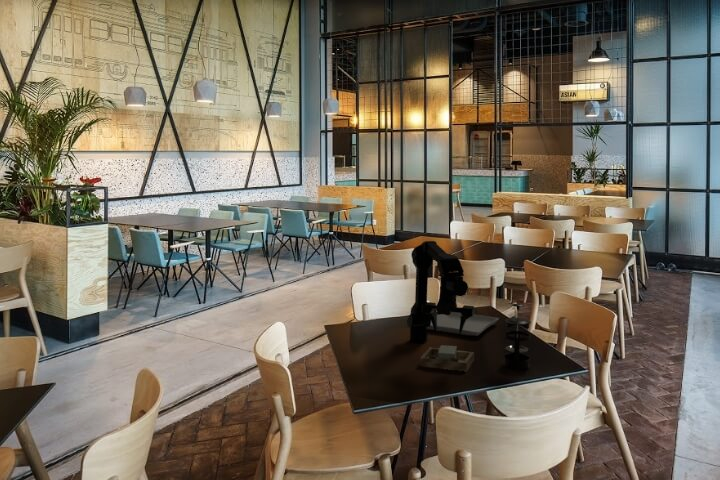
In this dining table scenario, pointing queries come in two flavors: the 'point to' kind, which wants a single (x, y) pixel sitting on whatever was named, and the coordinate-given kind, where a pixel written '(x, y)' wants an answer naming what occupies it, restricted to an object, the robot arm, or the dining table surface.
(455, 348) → the grey faceted block
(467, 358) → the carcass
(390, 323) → the dining table surface
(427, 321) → the robot arm
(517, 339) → the french press
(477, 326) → the square plate
